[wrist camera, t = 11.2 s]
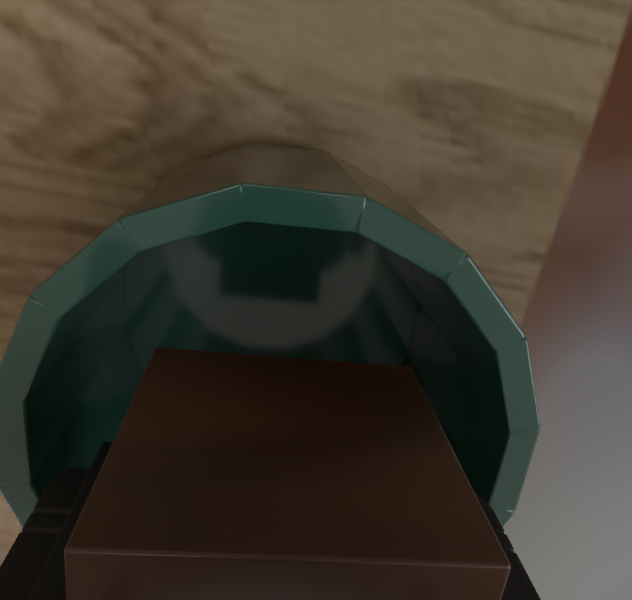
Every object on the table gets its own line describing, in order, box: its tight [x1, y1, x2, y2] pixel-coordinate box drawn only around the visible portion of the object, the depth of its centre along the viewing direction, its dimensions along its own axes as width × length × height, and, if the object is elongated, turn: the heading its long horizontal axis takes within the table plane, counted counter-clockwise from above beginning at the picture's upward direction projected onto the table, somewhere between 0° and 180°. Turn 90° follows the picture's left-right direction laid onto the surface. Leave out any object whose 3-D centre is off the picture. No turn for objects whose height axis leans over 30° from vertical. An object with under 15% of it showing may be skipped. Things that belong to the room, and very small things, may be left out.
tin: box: [0, 143, 540, 528], centre depth 16 cm, size 11×11×8 cm
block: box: [64, 348, 511, 600], centre depth 9 cm, size 5×5×5 cm
